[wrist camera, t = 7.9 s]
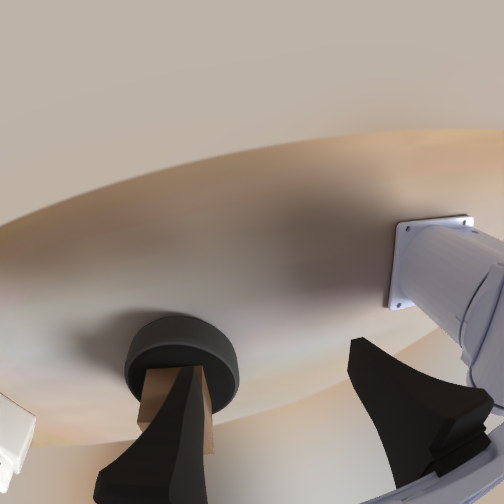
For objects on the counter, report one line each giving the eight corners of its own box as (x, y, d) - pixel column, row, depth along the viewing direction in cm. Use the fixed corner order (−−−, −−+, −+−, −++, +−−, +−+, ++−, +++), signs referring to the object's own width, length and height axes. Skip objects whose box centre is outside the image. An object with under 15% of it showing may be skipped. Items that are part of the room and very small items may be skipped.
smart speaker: (153, 395, 25) (148, 427, 22) (116, 320, 22) (103, 350, 18) (244, 382, 26) (250, 414, 22) (223, 301, 23) (226, 331, 19)
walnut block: (202, 364, 20) (203, 420, 15) (211, 401, 21) (214, 453, 17) (147, 369, 19) (137, 422, 15) (161, 405, 21) (156, 455, 16)
